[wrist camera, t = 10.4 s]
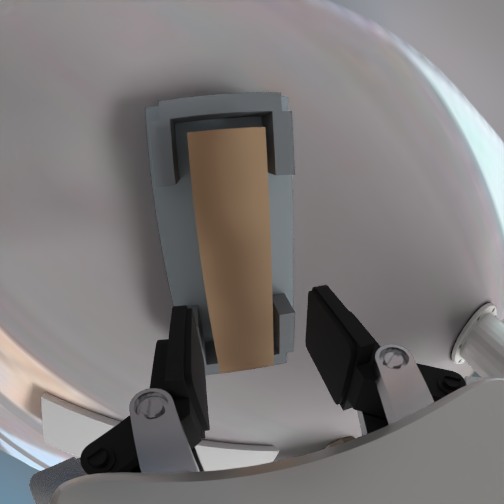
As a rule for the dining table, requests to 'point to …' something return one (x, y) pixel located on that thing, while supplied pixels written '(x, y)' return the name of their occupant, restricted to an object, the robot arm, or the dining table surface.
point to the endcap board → (182, 206)
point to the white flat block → (95, 425)
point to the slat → (235, 242)
